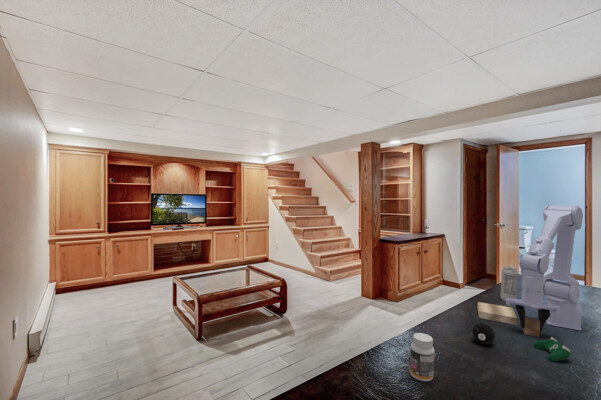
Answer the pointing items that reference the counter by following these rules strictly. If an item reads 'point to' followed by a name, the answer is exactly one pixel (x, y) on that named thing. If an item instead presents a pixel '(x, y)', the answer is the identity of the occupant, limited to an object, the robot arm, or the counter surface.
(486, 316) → the birch base
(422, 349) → the pill bottle
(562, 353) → the gaming controller
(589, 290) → the counter surface
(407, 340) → the counter surface
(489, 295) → the counter surface
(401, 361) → the counter surface
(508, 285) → the energy drink can
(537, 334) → the walnut block
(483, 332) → the billiard ball
